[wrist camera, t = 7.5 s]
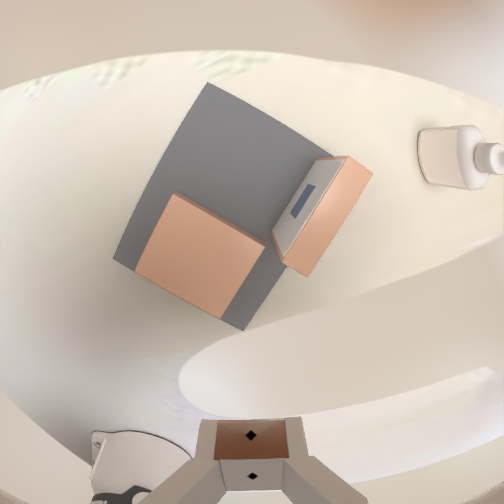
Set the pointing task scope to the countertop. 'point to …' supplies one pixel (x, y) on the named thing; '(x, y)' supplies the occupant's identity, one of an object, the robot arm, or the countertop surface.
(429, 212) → the countertop surface
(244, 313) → the mat
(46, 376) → the countertop surface
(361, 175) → the tile
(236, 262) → the tile
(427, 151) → the eye dropper bottle
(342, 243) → the countertop surface
